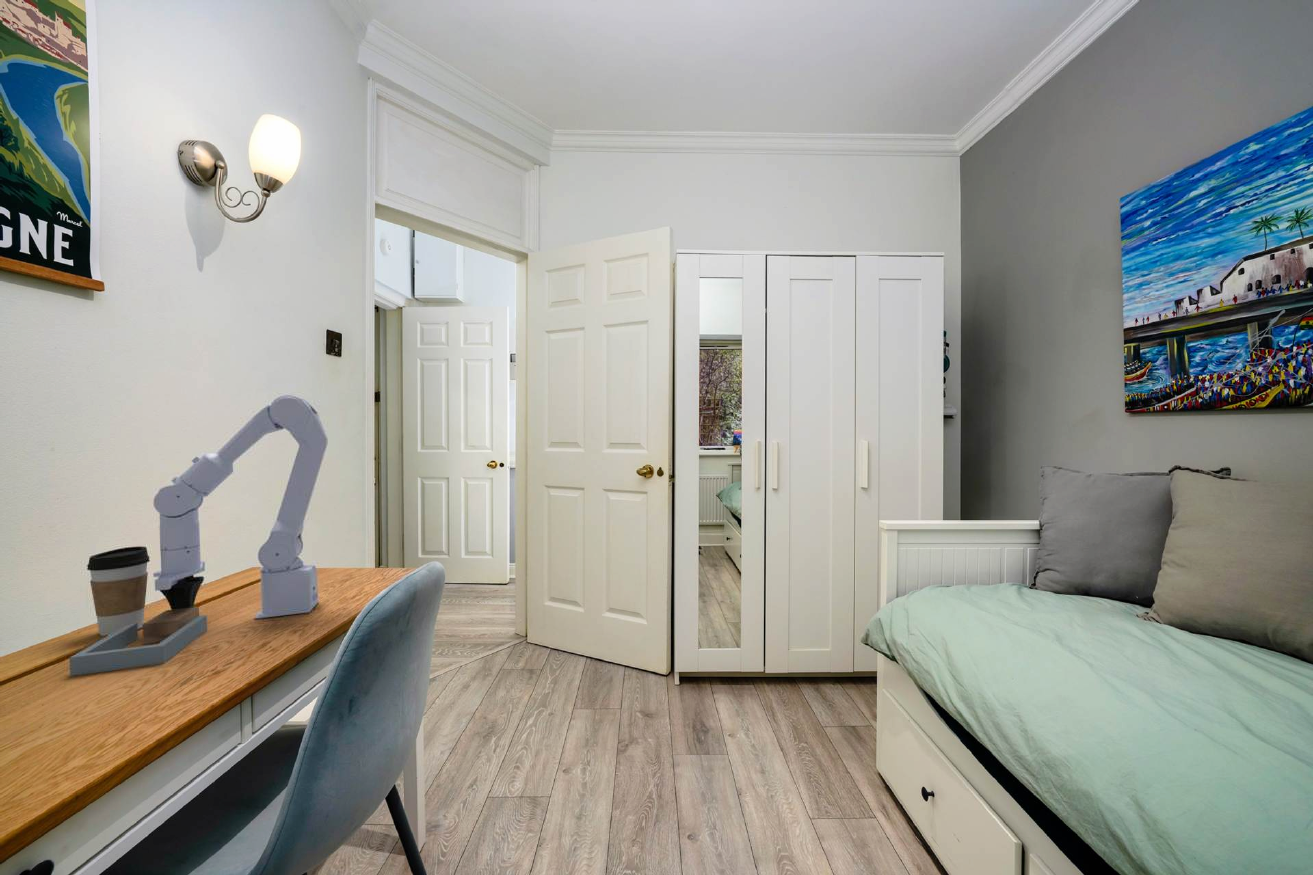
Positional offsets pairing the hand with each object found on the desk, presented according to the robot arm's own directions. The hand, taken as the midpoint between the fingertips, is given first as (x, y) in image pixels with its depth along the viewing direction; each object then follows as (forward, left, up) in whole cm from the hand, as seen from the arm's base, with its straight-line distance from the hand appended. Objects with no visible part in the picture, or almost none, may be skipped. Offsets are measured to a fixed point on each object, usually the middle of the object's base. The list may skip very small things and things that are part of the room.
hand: (183, 617), depth 104 cm
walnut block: (-1, +5, -1) cm, 5 cm away
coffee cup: (+10, -2, -2) cm, 10 cm away
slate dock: (0, +13, -1) cm, 13 cm away
